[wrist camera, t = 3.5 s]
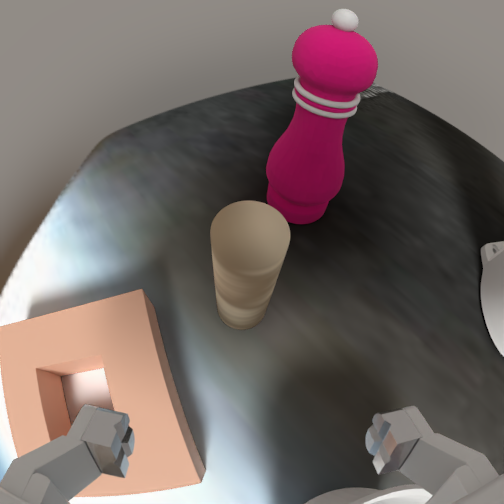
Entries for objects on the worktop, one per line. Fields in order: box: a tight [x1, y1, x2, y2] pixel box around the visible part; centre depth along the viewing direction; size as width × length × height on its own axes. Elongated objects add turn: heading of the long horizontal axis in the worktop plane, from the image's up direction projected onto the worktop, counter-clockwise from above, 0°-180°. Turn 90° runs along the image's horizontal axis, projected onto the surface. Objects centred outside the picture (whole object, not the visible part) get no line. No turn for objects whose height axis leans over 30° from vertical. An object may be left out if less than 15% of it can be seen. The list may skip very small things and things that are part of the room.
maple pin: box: [210, 201, 290, 330], centre depth 20 cm, size 4×4×11 cm
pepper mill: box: [266, 9, 378, 224], centre depth 22 cm, size 7×7×20 cm
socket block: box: [0, 289, 206, 497], centre depth 17 cm, size 14×14×4 cm
